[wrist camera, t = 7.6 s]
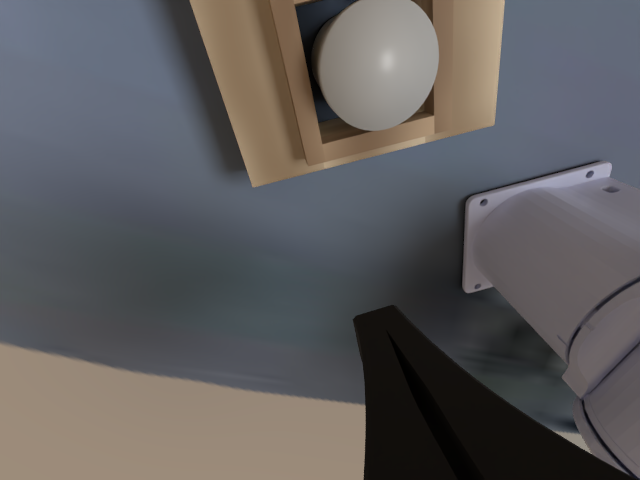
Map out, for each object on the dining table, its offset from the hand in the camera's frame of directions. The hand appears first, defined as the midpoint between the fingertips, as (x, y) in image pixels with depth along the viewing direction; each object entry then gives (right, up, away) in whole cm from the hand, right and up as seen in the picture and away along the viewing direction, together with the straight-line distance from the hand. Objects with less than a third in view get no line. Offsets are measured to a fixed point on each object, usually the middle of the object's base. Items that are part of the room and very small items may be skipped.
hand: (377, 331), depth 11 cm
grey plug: (0, +11, +5) cm, 12 cm away
